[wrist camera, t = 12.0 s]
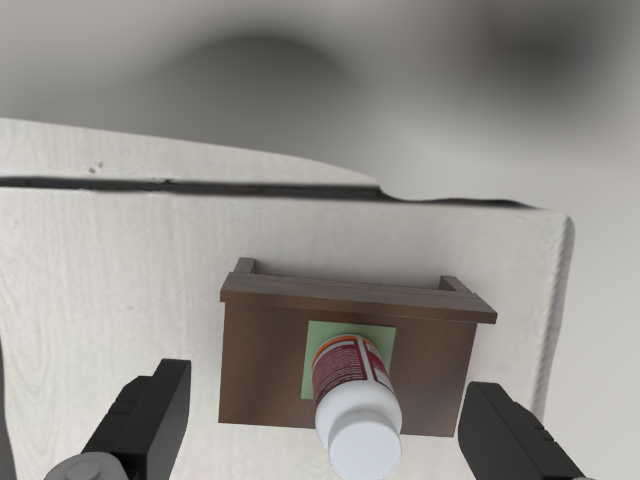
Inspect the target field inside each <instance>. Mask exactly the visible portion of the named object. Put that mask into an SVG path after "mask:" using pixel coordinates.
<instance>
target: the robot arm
mask: <svg viewBox="0 0 640 480" xmlns="http://www.w3.org/2000/svg"><path fill="white" fill-rule="evenodd" d="M190 386H191V361H190V360H179V359H165V358H163V359H162V360H161V362H160V364H159V365H158V367H157V369H156V371H155V373H154V374H153V376H138V377H137V378H135V379H134V380H133V381H131V382H130V383H128V384H127V385H125V386H124V387H123V389H122V390H121V392H120V394H119V395H118V397H117V398H116V400H115V402H114V403H113V404H112V406H111V407H110V409H109V410H108V414H106V415H105V417H104V418H103V420H102V421H101V423H100V424H99V426H98V427H97V429H96V430H95V432H94V433H93V435H92V437H91V438H90V440H89V441H88V443H87V444H86V446H85V447H84V449H83V450H82V452H81V453H80V454H78V455H75V456H73V457H70V458H68V459H66V460H64V461H62V462H61V463H59V464H58V465H56V466H55V467H54V468H53V469H52V470H51V471H50V472H49V473H48V474H47V475H46V477H45V478H44V480H169V477H170V474H171V471H172V469H173V466H174V463H175V460H176V457H177V454H178V452H179V449H180V446H181V443H182V440H183V437H184V435H185V431H186V427H187V423H188V417H189V406H190ZM458 442H459V446H460V449H461V451H462V453H463V455H464V457H465V459H466V461H467V463H468V465H469V467H470V469H471V471H472V472H473V474H474V476H475V478H476V480H594V479H591V478H586V477H585V476H584V474H583V473H582V472H581V471H580V469H579V468H578V467H577V466H576V465H575V463H574V462H573V461H572V460H571V459H570V458H569V456H568V455H567V454H566V453H565V451H564V450H563V449H562V448H561V447H560V446H559V444H558V443H557V442H554V439H553V437H552V436H551V435H550V434H549V432H548V431H547V430H544V426H543V425H542V424H541V423H540V422H539V420H538V419H537V418H536V417H535V416H534V415H533V414H532V413H531V412H530V411H528V410H527V409H525V408H524V407H523V406H521V405H520V404H519V403H517V402H513V400H512V399H511V398H510V397H509V395H508V394H507V393H506V392H505V390H504V389H503V388H502V387H501V386H500V385H499V384H498V383H488V382H474V381H472V382H470V383H469V385H468V387H467V391H466V395H465V399H464V404H463V408H462V412H461V417H460V421H459V425H458Z"/></svg>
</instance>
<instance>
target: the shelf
mask: <svg viewBox="0 0 640 480" xmlns="http://www.w3.org/2000/svg"><path fill="white" fill-rule="evenodd" d="M254 268H255V259H250V258H239V261H238V263H237V265H236V267H235V269H234V271H233V272H229V274H228V276H227V279H226V280H225V282H224V284H223V286H222V288H221V290H220V302H225V318H224V335H223V352H222V369H221V386H220V403H219V419H218V423H230V424H246V425H261V426H277V427H293V428H309V429H316V425H315V414H314V399H313V385H312V360H313V357H314V354H315V352H316V351H317V349H318V348H319V346H320V345H321V344H322V343H324V342H325V341H326V340H328V339H329V338H331V337H334V336H336V335H340V334H355V335H359V336H362V337H364V338H366V339H368V340H369V341H370V342H371V343H373V345H374V346H375V347H376V348H377V350H378V352H379V354H380V356H381V358H382V361H383V363H384V366H385V369H386V372H387V374H388V377H389V379H390V382H391V385H392V388H393V390H394V393H395V395H396V398H397V401H398V403H399V407H400V410H401V414H402V426H401V431H400V434H405V435H421V436H437V437H452V438H453V437H454V432H455V428H456V423H457V418H458V413H459V409H460V404H461V399H462V394H463V389H464V385H465V380H466V375H467V370H468V366H469V361H470V356H471V351H472V346H473V342H474V337H475V332H476V327H477V323H484V324H496V319H497V315H498V313H497V312H496V311H495V310H494V309H492V308H491V307H490V306H489V305H488V304H487V303H486V302H485V301H484V300H482V299H481V298H480V297H479V296H478V295H477V294H476V293H472V292H471V291H470V290H469V289H468V288H467V287H466V286H464V285H463V284H462V283H461V282H460V281H459V280H458V279H457V278H456V277H450V276H441V280H440V285H439V290H433V289H422V288H410V287H399V286H388V285H376V284H365V283H353V282H342V281H330V280H319V279H307V278H296V277H284V276H273V275H262V274H254Z"/></svg>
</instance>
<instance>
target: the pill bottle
mask: <svg viewBox="0 0 640 480" xmlns="http://www.w3.org/2000/svg"><path fill="white" fill-rule="evenodd" d="M312 385H313V399H314V414H315V425H316V432H317V435H318V438H319V440H320V442H321V443H322V445H323V446H324V447H325V449H326V450H327V451H329V458H330V462H331V465H332V467H333V468H334V470H335V471H336V472H337V473H338V474H339V475H340V476H341V477H343V478H344V479H346V480H381V479H383V478H385V477H386V476H388V475H389V474H390V473H391V472H392V471H393V470H394V469H395V468H396V466H397V465H398V463H399V461H400V458H401V452H402V448H401V442H400V438H399V434H400V431H401V426H402V414H401V410H400V407H399V403H398V401H397V398H396V395H395V393H394V390H393V388H392V385H391V382H390V379H389V377H388V374H387V372H386V369H385V366H384V363H383V361H382V358H381V356H380V354H379V352H378V350H377V348H376V347H375V346H374V345H373V343H371V342H370V341H369V340H368V339H366V338H364V337H362V336H359V335H355V334H340V335H336V336H334V337H331V338H329V339H328V340H326V341H325V342H324V343H322V344H321V345H320V346H319V348H318V349H317V351H316V352H315V354H314V357H313V360H312Z"/></svg>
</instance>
